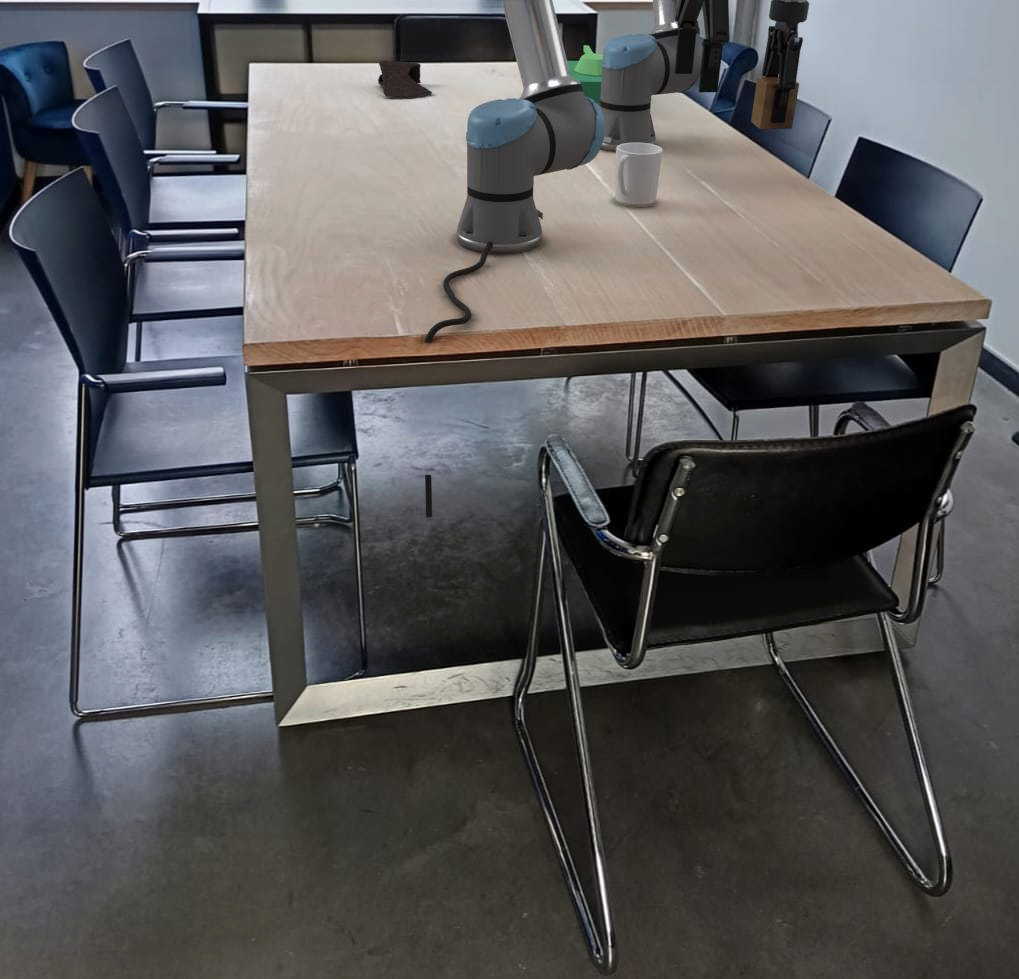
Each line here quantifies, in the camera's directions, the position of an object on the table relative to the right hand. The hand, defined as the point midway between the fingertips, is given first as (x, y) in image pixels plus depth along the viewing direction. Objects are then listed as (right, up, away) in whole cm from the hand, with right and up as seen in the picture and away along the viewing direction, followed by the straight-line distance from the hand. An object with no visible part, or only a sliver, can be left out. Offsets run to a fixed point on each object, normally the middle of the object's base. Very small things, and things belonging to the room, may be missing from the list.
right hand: (772, 118), depth 230 cm
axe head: (-84, +31, +70) cm, 114 cm away
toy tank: (-34, +26, +63) cm, 76 cm away
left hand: (-27, -16, -62) cm, 70 cm away
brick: (0, -1, +1) cm, 1 cm away
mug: (-31, -21, -13) cm, 40 cm away
